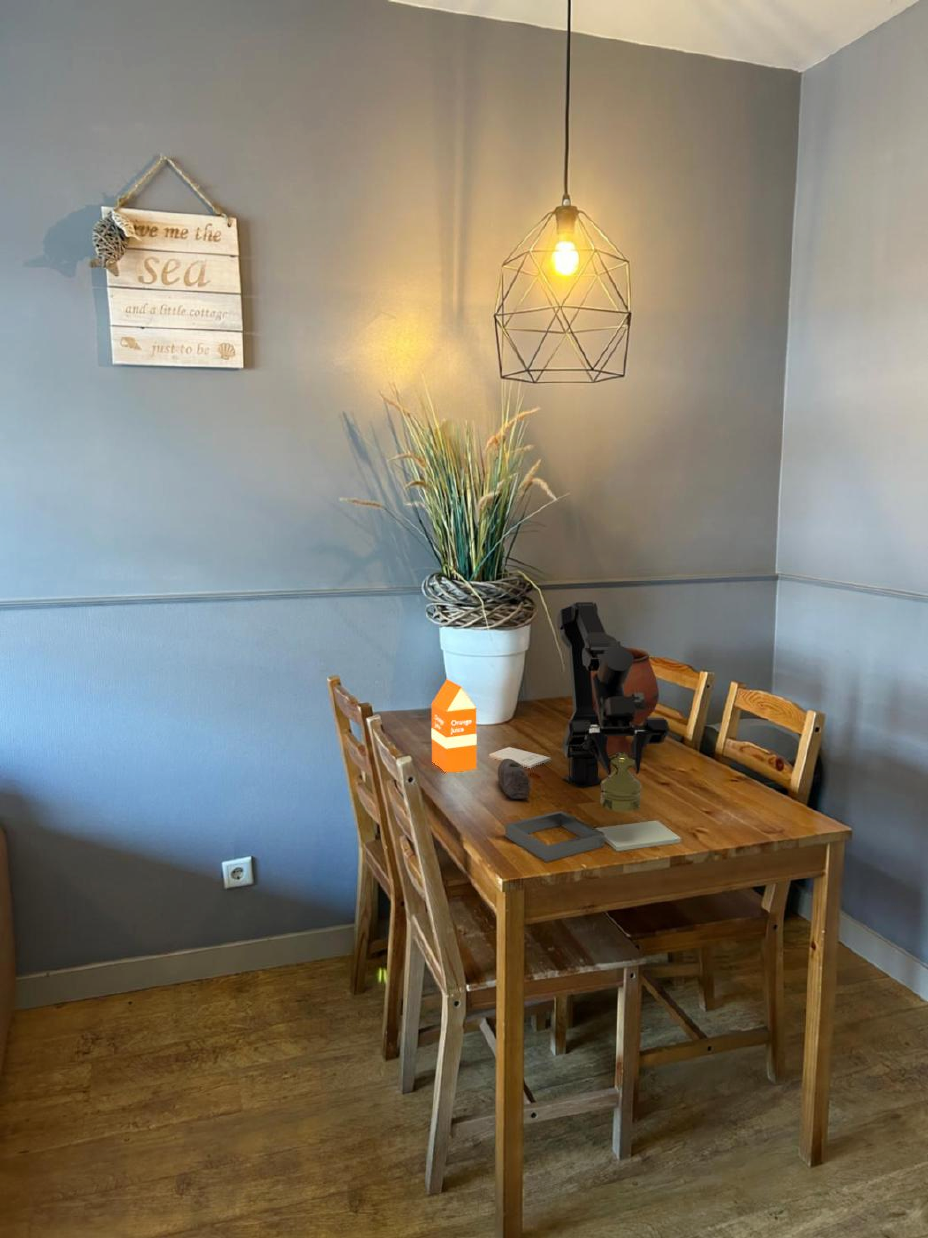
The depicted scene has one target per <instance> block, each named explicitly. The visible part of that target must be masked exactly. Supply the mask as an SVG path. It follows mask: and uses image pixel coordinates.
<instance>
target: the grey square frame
mask: <svg viewBox="0 0 928 1238" xmlns="http://www.w3.org/2000/svg"><path fill="white" fill-rule="evenodd" d="M504 825H505V826H504V837H505V838H506V839H508V840H509V841H511V842H513V843H514V844H516V845H518V846H520V847H521V848H522V849H524V850H526V851H527V852H529V853H531V854H532V855H534V856H535V857H537V858H539V859H540V860H541V861H544V862H545V863H548V862H552V861H556V860H560V859H563V858H567V857H571V856H575V855H579V854H581V853H585V852H589V851H593V850H596V849H601V848H604V847H605V840H604V834H605V833H603V832H601V831H599V830H597V829H595V827H593V826H591V825H589V824H587V823H586V822H584V821H582V820H579V819H578V818H576V817H574V816H572V815H570V814H568V813H566V812H565V811H563V810H558V811H554V812H550V813H546V814H541V815H537V816H532V817H530V818H525V819H524V818H523V819H521V820H516V821H512V822H508V823H504ZM559 826H560V827H561V828H563V829H565V830H567V831H568V832H571V833H572V834H573V835H576V836H578V837H575V838H571V839H567V840H564V841H559V842H555V843H552V844H548V845H547V844H546V843H544V842H542V841H541V840H539V839H537V838H536V837H534V836H532V835H531V834H532V833H536V832H540V831H544V830H548V829H551V828H555V827H559Z"/></svg>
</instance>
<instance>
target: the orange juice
mask: <svg viewBox="0 0 928 1238" xmlns="http://www.w3.org/2000/svg"><path fill="white" fill-rule="evenodd" d="M430 704H431V763H432V762H433V763H435V765H437V766H439V767H440V768H441V769H442V770H443V771H444V772H446V773H447V772H457V773H461V772H460V771H464V772H467V771H466V770H471V771H473V770H472V769H476V770H477V707H476V706H475V705H474V703H473V702H472V700H471V698H469V695H468V694H467V693H466V692H465V690H464V688H463V687H462V686H461V685H459V684H457V683H455V682H453V681H452V680H449V679H447V678H446V679H445V681H444V683H443V684H442V686H441V688H440V689H439V691H438V693H437V694H436V696H435V698H434V699H433V700H432V702H431V703H430ZM433 763H432V764H433ZM435 765H434V766H435ZM437 766H436V767H437ZM442 770H441V771H442ZM443 771H442V772H443ZM458 771H459V772H458ZM444 772H443V773H444ZM446 773H445V774H446Z"/></svg>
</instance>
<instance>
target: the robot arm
mask: <svg viewBox="0 0 928 1238" xmlns="http://www.w3.org/2000/svg"><path fill="white" fill-rule="evenodd" d="M556 625H557V629H558V630H559V632H560V638H561V641H562V642H563V643H564V645H565V646H566V647H567V649H568V655H569V668H570V669H569V670H570V682H571V695H572V697H571V698H572V706H573V707H572V709H573V710H572V711H573V713H572V715H571V717H570V719H569V721H568V723H567V725H566V728H565V732H564V737H563V740H562V743H561V744H562V753H563V755H564V756H565V758H566V759H568V776H563V777H562V779H563V781H566V782H568V783H569V784H572V785H573V786H576V787H578V788H586V787H589V786H594V785H599V784H601V781H602V779H601V778H599V763H600V765H601V766H602V768H603V770H604V771H605V772H606V774H607V776H609V775H610V774H611V773H612V768H611V763H610V762H609V757H608V754H607V750H606V745H607V740H608V737H610V736H626V737H632V742H631V743H630V744H631V752H632V757H634V758H635V759H636V763H635V764H634V765H633V770H634V772H635V775H638V774H639V773H640V769H641V762H642V757H643V751H644V750H643V749H645V748H647V747H648V745H660V744H662V743H664V742H665V739H666V737H667V735H668V733H669V731H670V726H669V722H668V720H666V718H664V717H648V718H646V719H645V721H643V722H642V723H643V724H639V725H631V724H630V722H633V720H634V716H633V714H636V711H642V710H644V709H645V698H644V694H643V693H634V694H632V696H625V693H624V688H623V683H625V682H626V680H627V678H628V675H629V673H630V670H631V668H632V665H633V662H634V657H633V655H632V653H631V652H630V651H629V650H628V649H627V648H628V647H626V646H622V645H621V641H620V640H619V641H618V640H617V639H616V637H614V636H611V635H609V634H607V632H606V629H605V628H604V624H603V622H602V620H601V618H600V615H599V610H598V605H597V603H595V602H594V601H577V602H573V603H572V604H571V605H570V606H567V607H564V608H561V609H560V611H559V612H558V614H557V618H556ZM591 671H598V672H597V673H596V674H595V675H594V677H593V678H592V680H591ZM592 683H593V689H594V695H595V701H596V707H597V710H596V712H595V710H594V705H593V693H592Z"/></svg>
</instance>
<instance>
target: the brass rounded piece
mask: <svg viewBox="0 0 928 1238" xmlns="http://www.w3.org/2000/svg"><path fill="white" fill-rule="evenodd" d="M608 758H609V762H610V765H612V766H613V769H614V770H613V771H611V774H610V775H607V776H605V777H603V778H602V779H601V780H602V781H601V783H600V788H601V791H600V793H599V794H600V804H601V806H602V807H603V808H604V809H607V810H609V811H611V812H612V811H613V812H617V813H630V812H634V811H637V810H639V809H640V807H641V803H642V802H641V799H642V794H641V793H640V792H641V790H642V783H641V781H640V780H638V779H637V778H636V777H635V776H634V775H633V774H632V773H631V771H630V768H631V767H632V766H634V764H635V763H636V759H635V758H634V757H632V756H631V755H628V754H627V753H625V752H618V753H617V754H613V755H611V756H610V757H608Z"/></svg>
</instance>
